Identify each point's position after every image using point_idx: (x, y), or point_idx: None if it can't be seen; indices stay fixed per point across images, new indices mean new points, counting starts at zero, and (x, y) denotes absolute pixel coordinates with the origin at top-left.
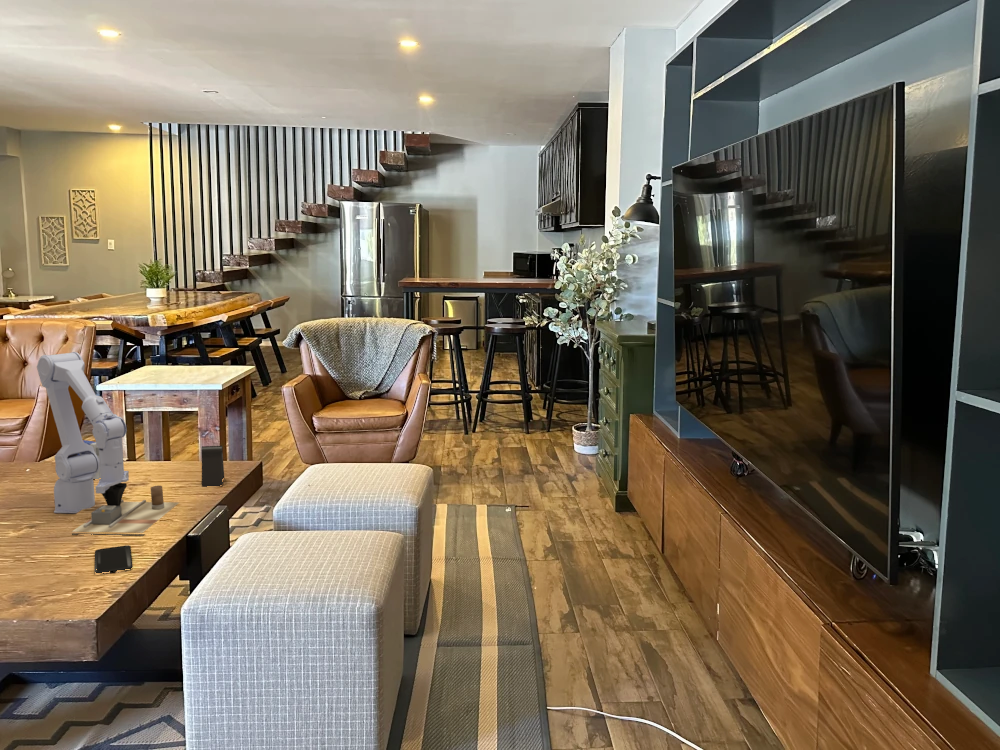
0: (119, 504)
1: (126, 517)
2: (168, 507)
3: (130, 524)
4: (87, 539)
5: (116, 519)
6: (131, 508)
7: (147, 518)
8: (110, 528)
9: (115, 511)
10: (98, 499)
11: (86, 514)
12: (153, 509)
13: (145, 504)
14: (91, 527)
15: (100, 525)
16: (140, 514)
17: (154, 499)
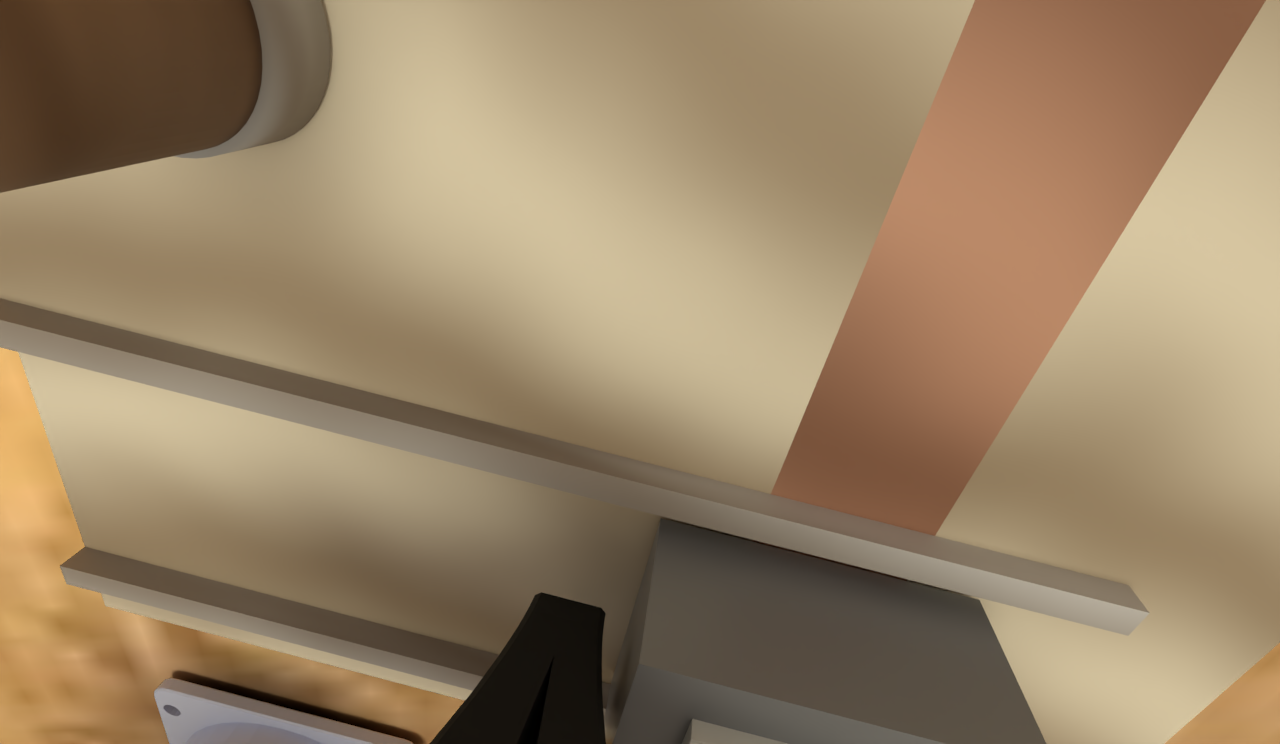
0: (543, 678)
1: (694, 457)
2: None
3: (1108, 362)
4: (1260, 714)
5: (821, 566)
6: (307, 443)
7: (849, 112)
8: (1153, 587)
9: (866, 691)
10: (50, 692)
11: (431, 741)
12: (321, 98)
13: (103, 287)
14: None
15: None
16: (582, 284)
17: (137, 67)
